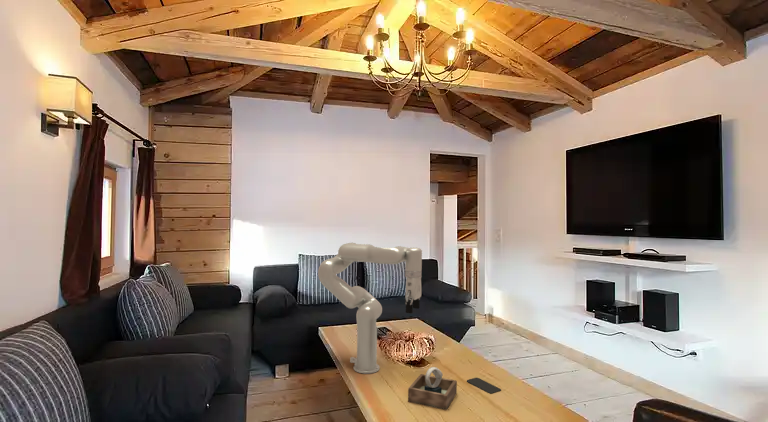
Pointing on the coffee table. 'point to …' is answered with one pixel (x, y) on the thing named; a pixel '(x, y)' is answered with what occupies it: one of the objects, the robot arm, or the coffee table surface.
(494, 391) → the phone
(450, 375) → the coffee table surface
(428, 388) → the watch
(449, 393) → the box
